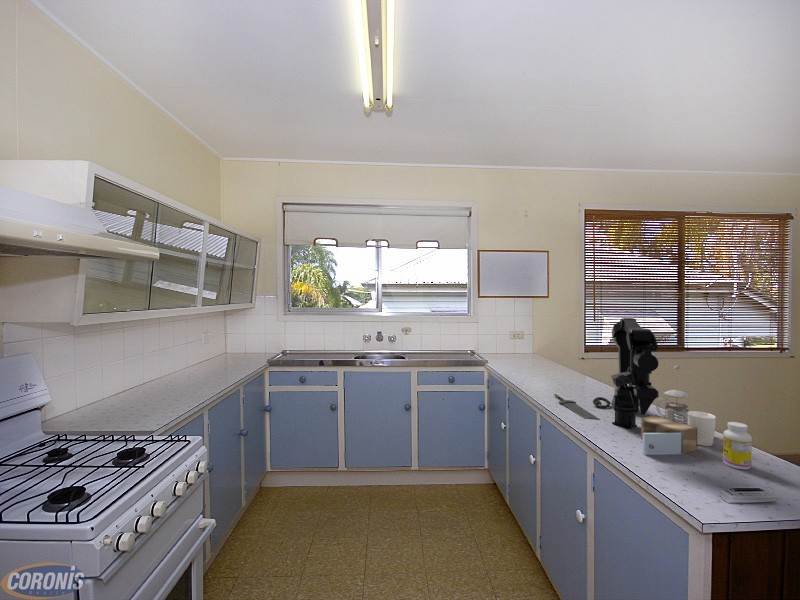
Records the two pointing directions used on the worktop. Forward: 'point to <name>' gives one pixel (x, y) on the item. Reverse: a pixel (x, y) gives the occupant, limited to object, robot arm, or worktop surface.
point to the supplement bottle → (737, 446)
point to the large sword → (576, 408)
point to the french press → (675, 405)
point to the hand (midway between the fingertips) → (639, 411)
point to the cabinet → (671, 430)
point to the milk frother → (598, 403)
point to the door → (662, 443)
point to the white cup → (703, 426)
